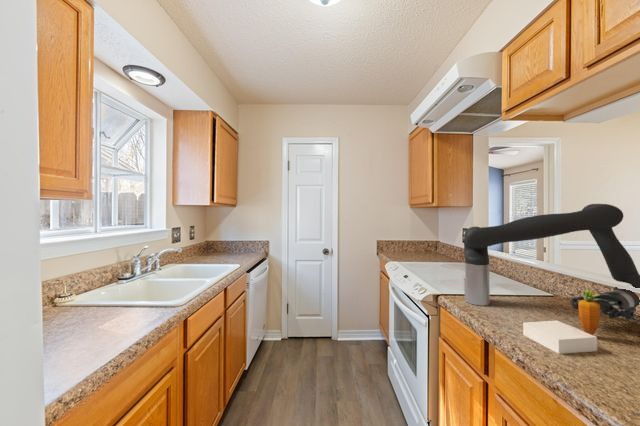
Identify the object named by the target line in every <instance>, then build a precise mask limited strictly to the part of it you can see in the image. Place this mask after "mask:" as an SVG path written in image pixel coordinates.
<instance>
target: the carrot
mask: <svg viewBox="0 0 640 426" xmlns="http://www.w3.org/2000/svg"><path fill="white" fill-rule="evenodd" d="M593 292H594V290H592V289H590V290H584V291H582V293H583V295H584V299H586V300H582V301H579V303H578V308H579V309H578V316H579V321H580V322H579V323H580V324H581V327H582V329H583V331H584V332H586V333H588V334H591V335H593V336H594V334H596V332H597V330H598V328H599V324H600V320H601V318H600V317H601V312H600V305H599V304H598V303H596V302H594V301H593V299H594V298H596V297H598V296H600V295H599V294H600V293H599V294H593Z"/></svg>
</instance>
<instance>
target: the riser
mask: <svg viewBox="0 0 640 426" xmlns="http://www.w3.org/2000/svg"><path fill="white" fill-rule="evenodd" d="M522 323H523V325H522V326H523V327H522V328H523V329H522V330H523V336H525V337H526V338H529V339H530V340H532V341H534V342H535V343H538V344H540V345H542V346H544V347H545V348H547V349H549V350H550V351H553V352H554V353H556V354H558V355H559V354H560V355H563V354H564V355H565V354H577V353H588V352H591V353H592V352H598V337H597V336H595V335H594V334H593V335H591V334H588V333H586V332H585V331H584V330H582V329H581V330H580V329H578V328H576V327H574V326H571V325H570V324H567V323H564V322H561V321H560V320H541V321H529V322H528V321H526V322H522Z"/></svg>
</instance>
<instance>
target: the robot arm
mask: <svg viewBox="0 0 640 426" xmlns="http://www.w3.org/2000/svg"><path fill="white" fill-rule="evenodd" d="M623 219H624V212H623V211H622V210H621V208H619V207H617V206H616V205H613V204H608V203H590V204H588V205H586V206H584V207H583V208H582V209H581V210H576V211H572V212H563V213H549V214H548V213H546V214H538V215H534V216H533V215H532V216H528V217H524V218H523V217H522V218H519V219H516V220H512V221H509V222H507V223H504V224H500V225H493V226H486V227H485V226H482V227H479V226H472V227H469V228H467V229H466V230H465V231H464V236H463V245H464V247H463V248H464V249H463V253H464V269H465V270H464V272H465V275H464V277H465V278H464V280H463V281H464V282H463V283H464V286H463V287H464V288H463V289H464V300H465V302H466V303H468V304H471V305H476V306H489V305H490V304H491V303H490V302H491V300H490V297H491V296H490V293H491V289H490V286H491V285H490V258H489V257H490V256H489V252H488V251H489V249H488V247H491V246H495V245H499V244H505V243H513V242H516V243H517V242H524V241H533V240H539V239H546V238H550V237H555V236H561V235H565V234H570V233H573V232H574V233H575V232H580V231H589V233H590V235H591V236H592V238H593V240H594V241H595V243H596V245H597V246H598V248H599V250H600V252H601V254H602V256H603V259H604V261H605V264H606V265H607V268H608V271H609V273H610V275H611V277H612V279H613V280H614V281H616V282H620V283H626V284H629V285H630V286H633V287H635V288H640V273H639V271H638V269H637V267H636V265H635V262H634V260H633V258H632V256H631V255H630V253H629V252H628V251H627V249H626V248H625V247H624V245H623V244H622V243H621V242H620V241H619V239H618V237H617V236H616V234H615V232H614V229H613V228H615V227H617V226H619V224H621V222H622V221H623ZM614 287H615V288H614ZM614 287H613V289H612V290H608V291H605V292H602V293H599V295H600V296H598V297H596V298H594V299H593V301H594V302H596V303H598V304H599V305H600V313H602V314H604V315H606V316H608V317H609V319H618V318H621V319H622V318H625V319H626V320H632V319H634V318H635V317H637V307H638V305H639V302H640V300H639V297H638V296H637V295H636V294H635V293H634V292H632V291H630V290H626V289H618V288H617V287H616V286H614ZM582 300H586V298H585V296H581V295H579V296H576V297H575V296H574V297H572V298H571V306H572V308H573V310H577V311H579V308H578V303H579V301H582Z"/></svg>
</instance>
